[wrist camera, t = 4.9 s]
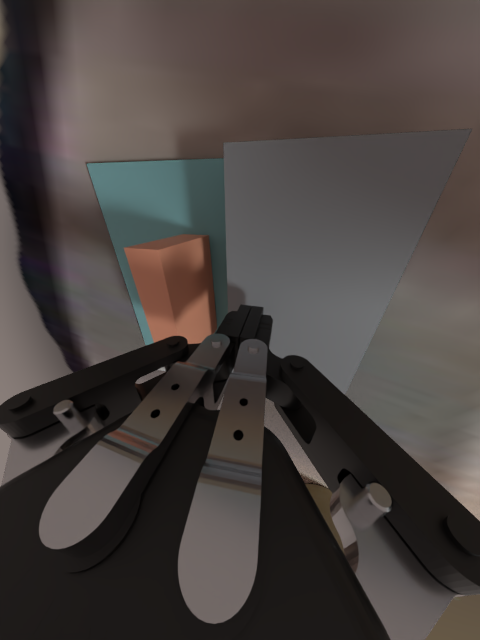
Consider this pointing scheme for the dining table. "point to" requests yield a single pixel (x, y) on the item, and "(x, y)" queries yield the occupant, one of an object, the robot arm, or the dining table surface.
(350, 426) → the robot arm
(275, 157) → the panel
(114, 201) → the mat
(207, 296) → the tile
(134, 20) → the dining table surface
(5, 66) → the dining table surface
